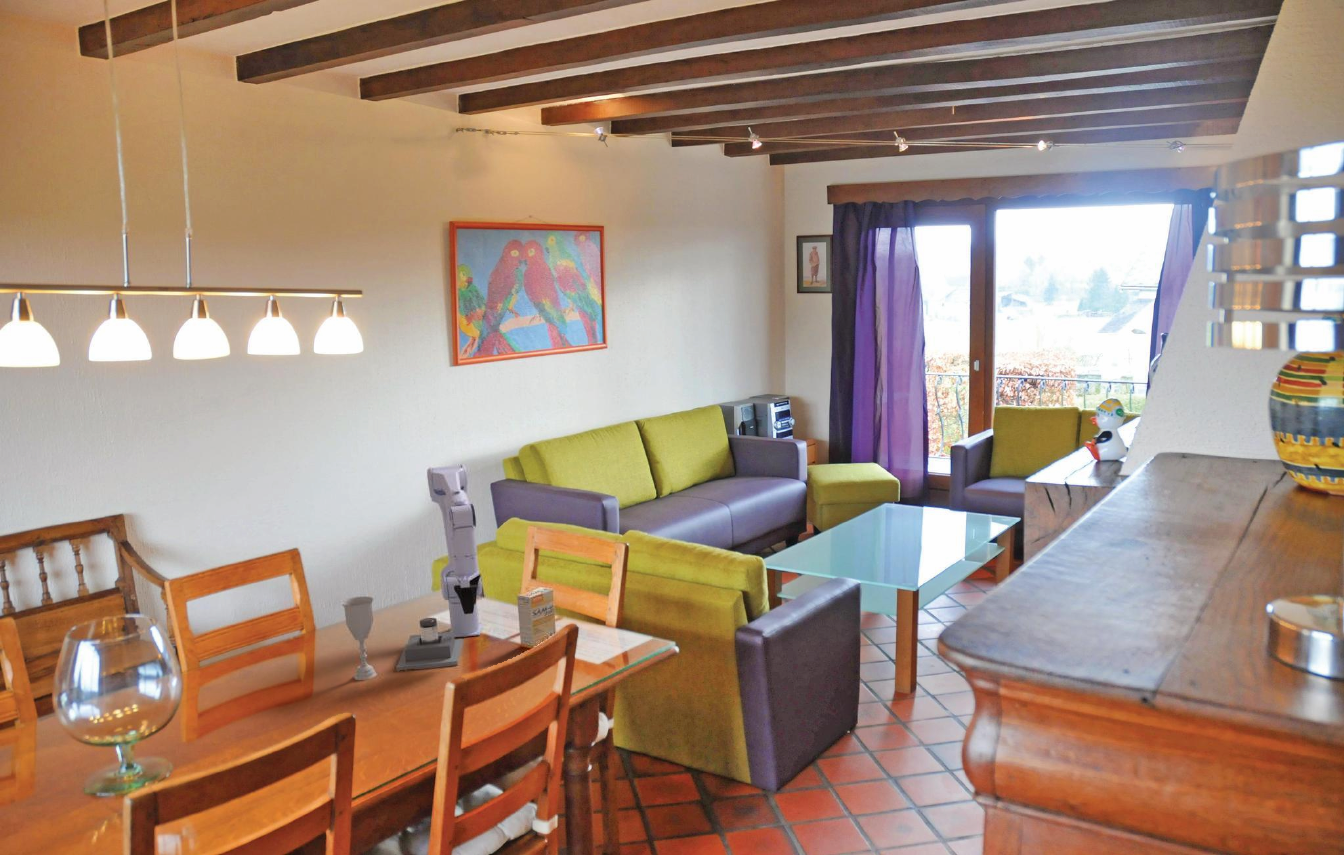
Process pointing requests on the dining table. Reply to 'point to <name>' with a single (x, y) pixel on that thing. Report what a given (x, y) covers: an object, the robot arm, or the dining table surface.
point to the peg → (429, 631)
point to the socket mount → (430, 652)
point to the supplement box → (536, 616)
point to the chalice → (360, 629)
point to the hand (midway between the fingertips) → (470, 608)
